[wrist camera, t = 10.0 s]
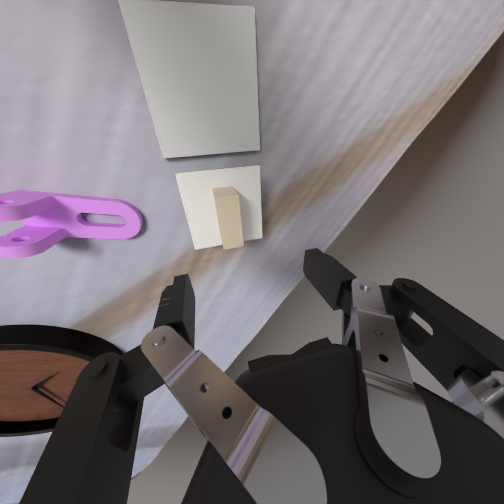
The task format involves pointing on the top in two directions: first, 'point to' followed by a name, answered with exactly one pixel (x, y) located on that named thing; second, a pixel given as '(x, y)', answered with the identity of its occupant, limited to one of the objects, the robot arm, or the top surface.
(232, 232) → the cover
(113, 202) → the bracket
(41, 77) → the top surface
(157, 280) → the top surface
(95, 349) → the wall clock
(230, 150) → the mat
